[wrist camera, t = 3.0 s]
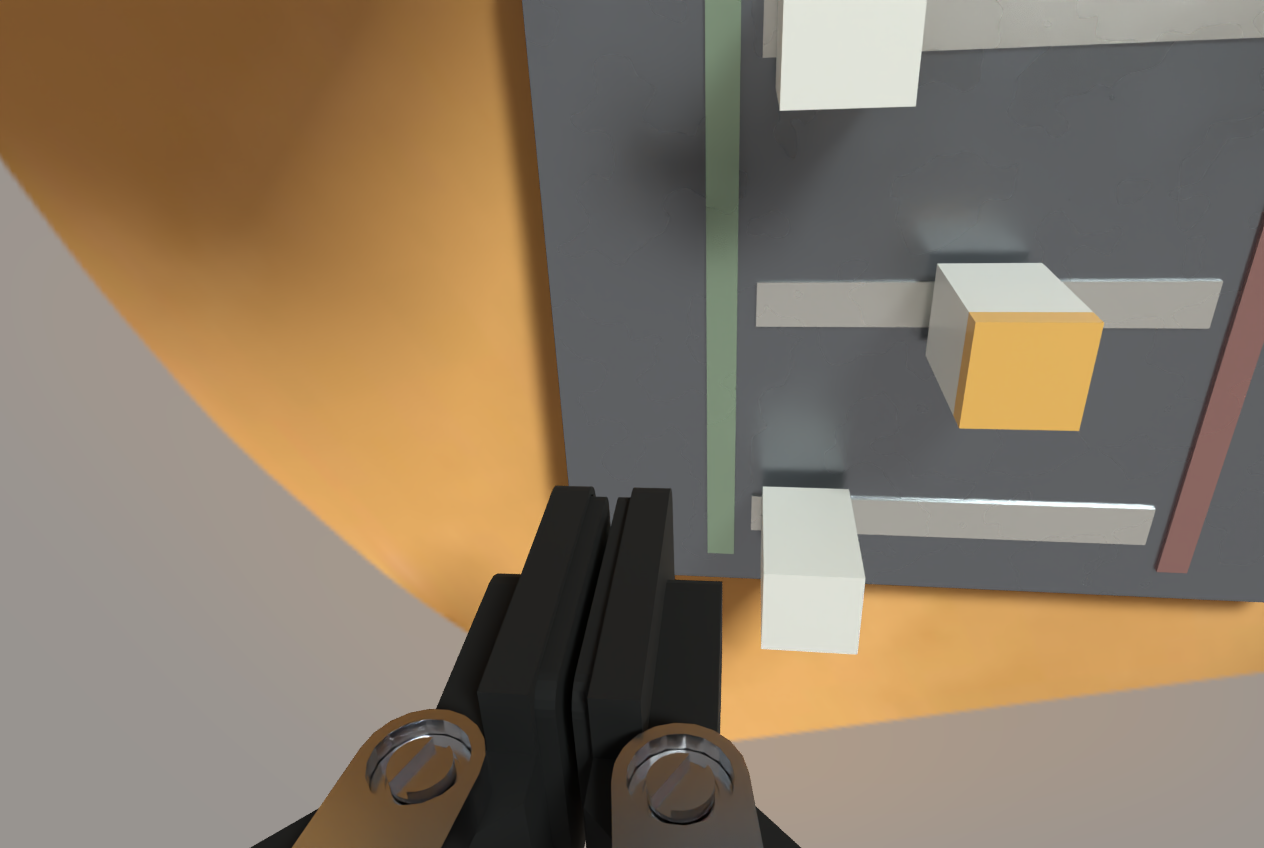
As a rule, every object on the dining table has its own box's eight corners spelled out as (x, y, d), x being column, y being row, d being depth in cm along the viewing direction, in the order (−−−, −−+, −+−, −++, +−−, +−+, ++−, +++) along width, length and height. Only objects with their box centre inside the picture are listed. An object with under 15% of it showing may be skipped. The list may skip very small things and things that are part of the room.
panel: (1584, -149, 17) (1685, -166, 15) (1295, 562, 25) (1338, 608, 23) (535, -80, 20) (512, -87, 18) (587, 534, 28) (576, 572, 26)
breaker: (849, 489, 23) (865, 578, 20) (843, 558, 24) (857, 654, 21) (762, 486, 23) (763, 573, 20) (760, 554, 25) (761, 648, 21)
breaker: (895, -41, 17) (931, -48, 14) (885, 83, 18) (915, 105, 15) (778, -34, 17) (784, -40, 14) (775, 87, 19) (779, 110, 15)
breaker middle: (1041, 262, 20) (1104, 322, 16) (1024, 356, 21) (1079, 430, 17) (937, 263, 20) (976, 322, 16) (925, 355, 21) (958, 428, 18)
